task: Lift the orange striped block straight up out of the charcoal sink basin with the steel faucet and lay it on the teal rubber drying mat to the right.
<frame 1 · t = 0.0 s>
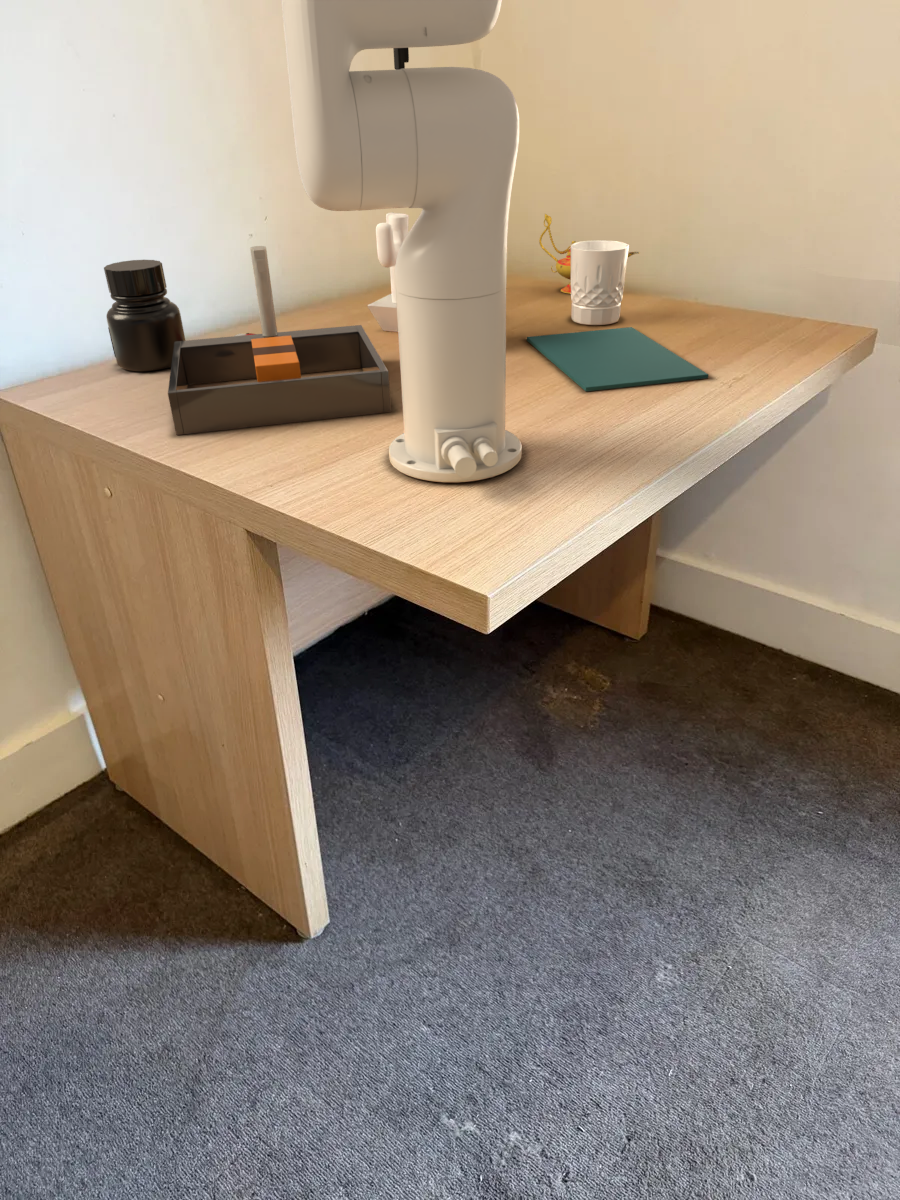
hand: (360, 71, 103), 31 cm above the table, tool pointing down, fingers open, 9 cm apart
sink basin: (280, 397, 99), on the table
white cup: (595, 321, 124), on the table
lighter: (262, 347, 117), on the table
drying mat: (610, 358, 108), on the table
ink bottle: (154, 364, 112), on the table
orange striped block: (277, 373, 97), in the sink basin
figurine: (403, 329, 123), on the table
magic lamp: (585, 292, 139), on the table
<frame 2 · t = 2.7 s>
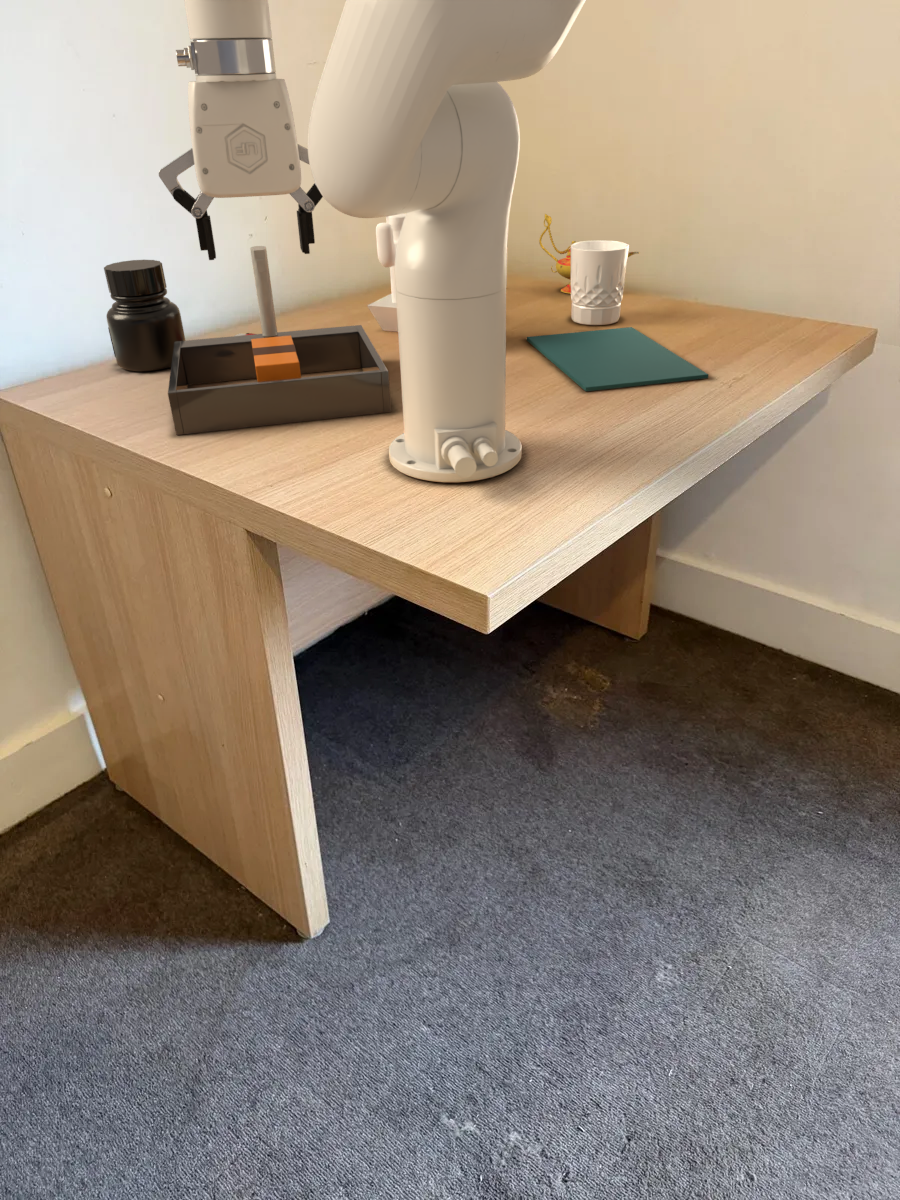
hand: (259, 254, 91), 15 cm above the table, tool pointing down, fingers open, 9 cm apart
nothing on the table moved.
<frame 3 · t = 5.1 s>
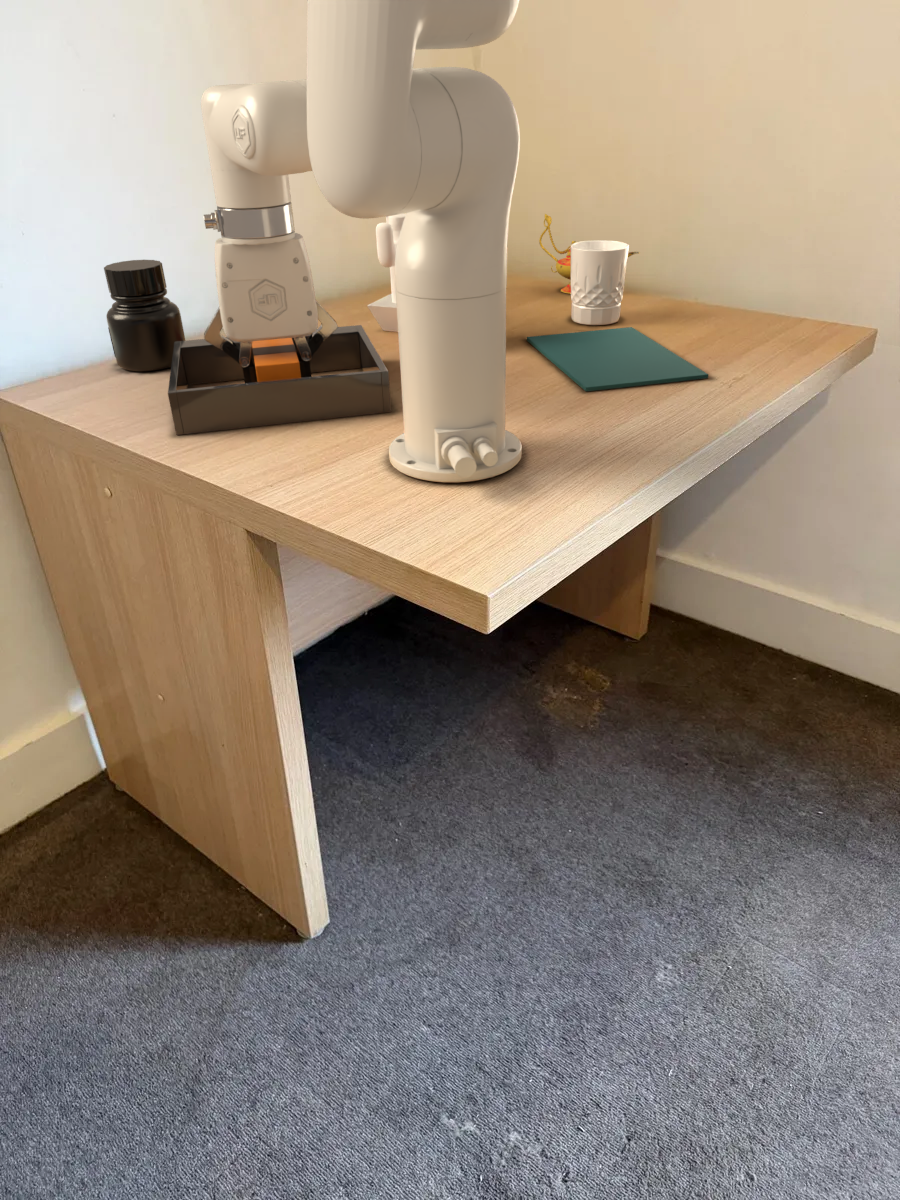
hand: (280, 394, 99), 0 cm above the table, tool pointing down, fingers closed on orange striped block, 4 cm apart
orange striped block: (277, 373, 97), in the sink basin, touching gripper
everything else where it was.
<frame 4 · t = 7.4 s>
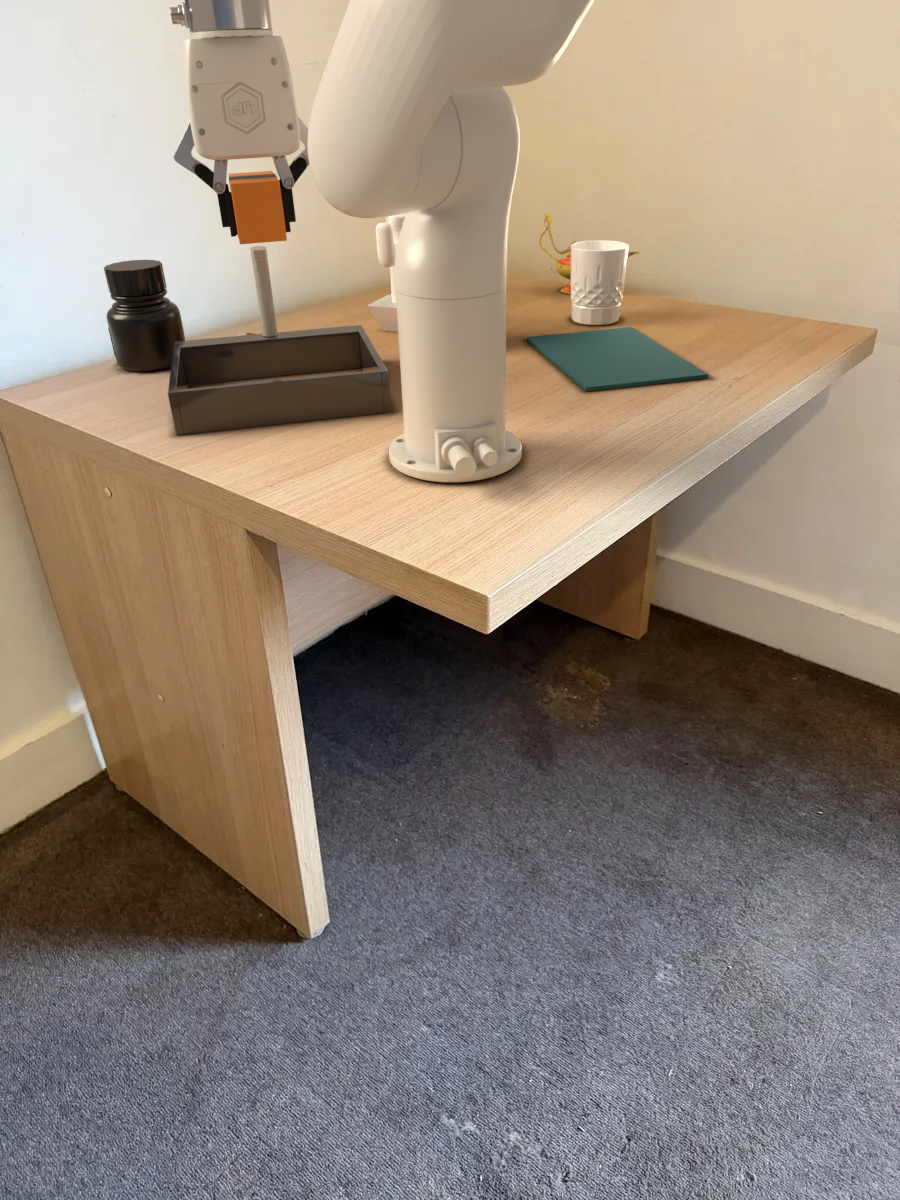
hand: (260, 230, 89), 18 cm above the table, tool pointing down, fingers closed on orange striped block, 4 cm apart
orange striped block: (256, 206, 88), point 20 cm above the table, touching gripper
everything else where it was.
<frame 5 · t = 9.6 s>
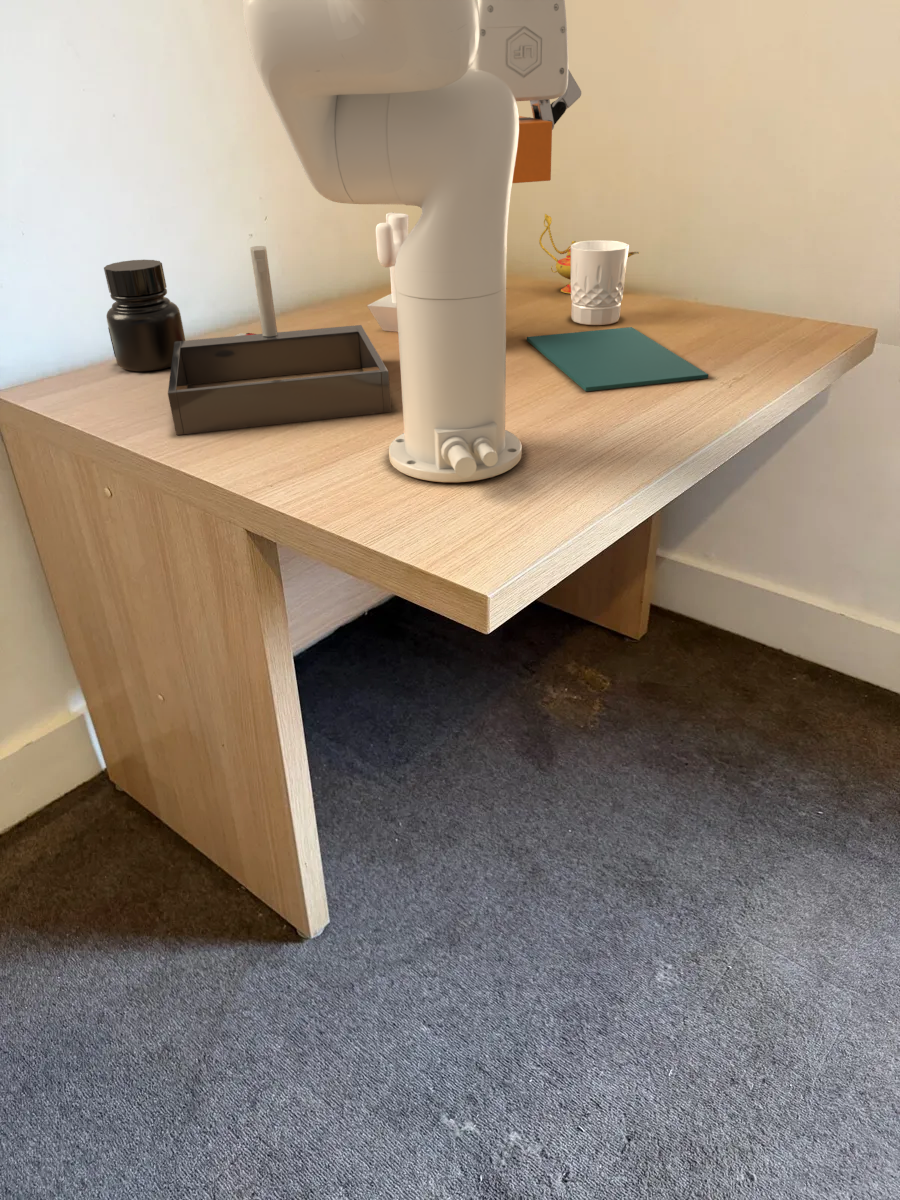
hand: (513, 172, 94), 22 cm above the table, tool pointing down, fingers closed on orange striped block, 4 cm apart
orange striped block: (513, 148, 93), point 24 cm above the table, touching gripper
everything else where it was.
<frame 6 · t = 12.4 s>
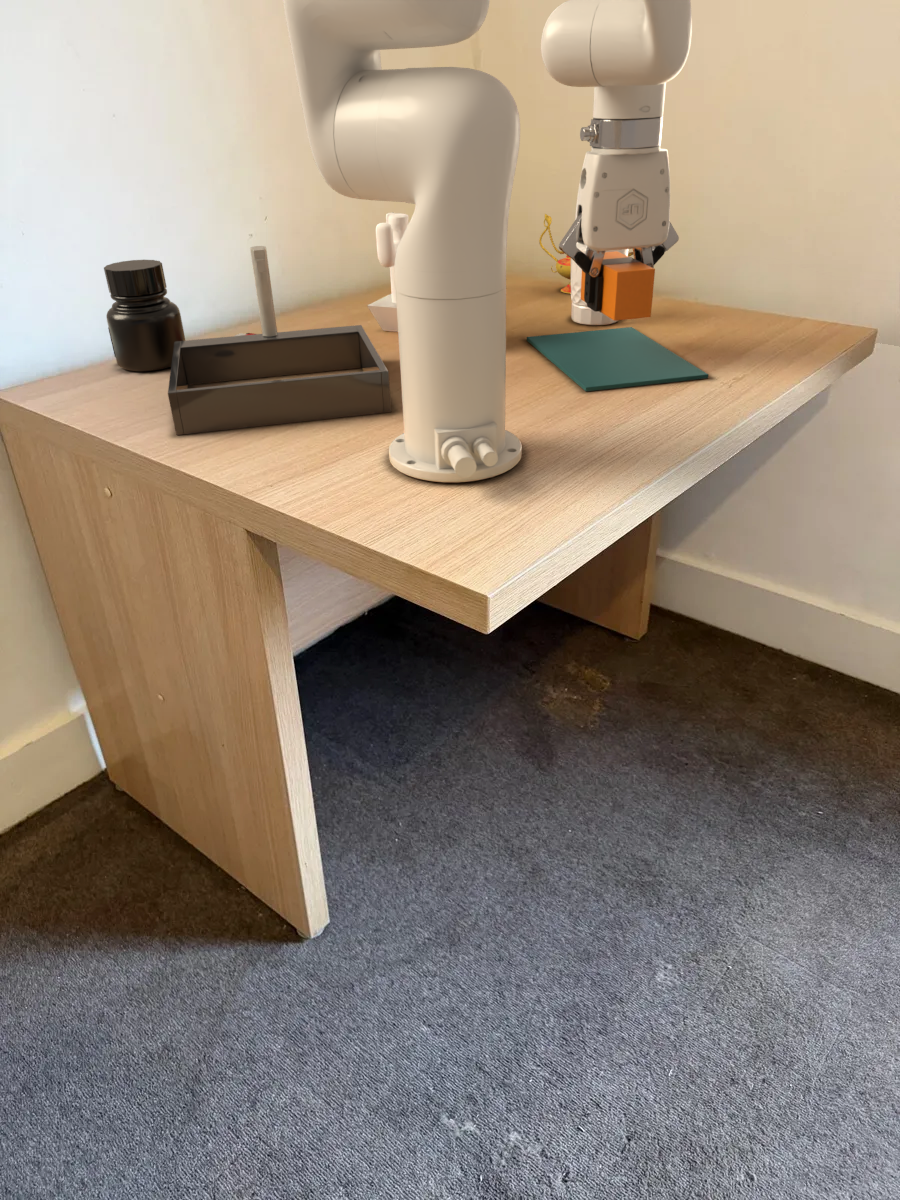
hand: (614, 305, 105), 6 cm above the table, tool pointing down, fingers closed on orange striped block, 4 cm apart
orange striped block: (615, 284, 103), point 9 cm above the table, touching gripper
everything else where it was.
when the fingers open (1 cm above the table, at t = 14.3 s): orange striped block stays where it is, resting on drying mat.
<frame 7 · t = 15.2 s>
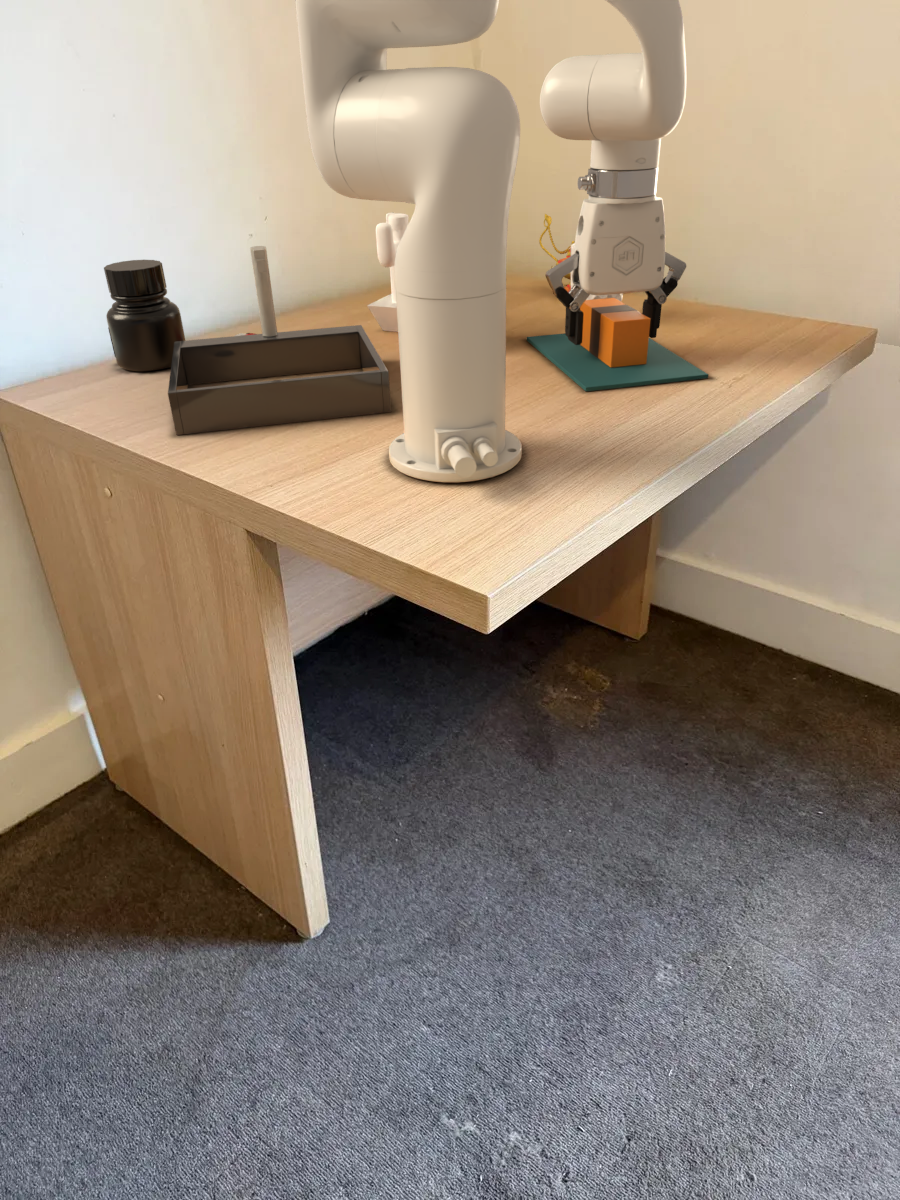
hand: (611, 338, 106), 2 cm above the table, tool pointing down, fingers open, 9 cm apart
orange striped block: (612, 331, 106), on the drying mat
everything else where it was.
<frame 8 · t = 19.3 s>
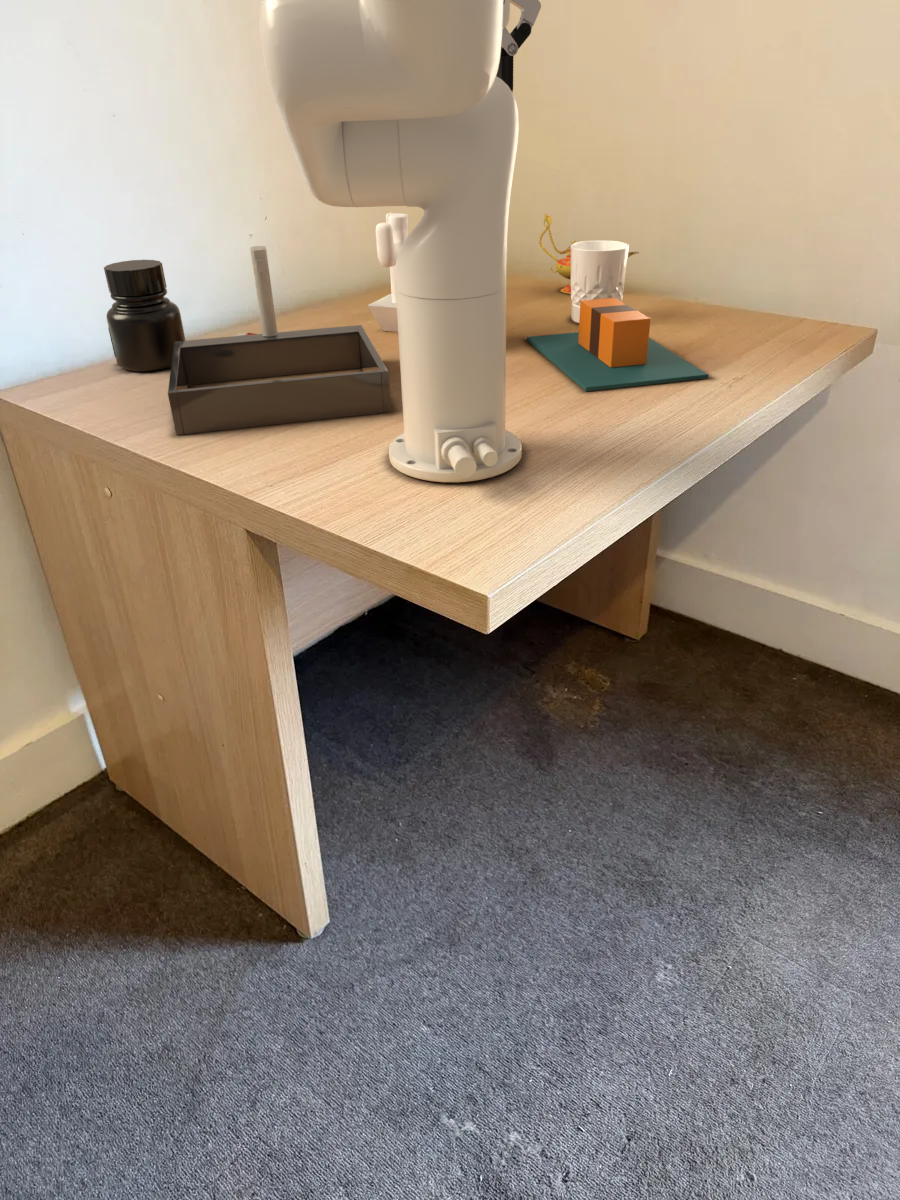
hand: (454, 104, 87), 28 cm above the table, tool pointing down, fingers open, 9 cm apart
nothing on the table moved.
at the end: orange striped block inside the target area on the drying mat (0.2 cm from its centre), point 3.2 cm above the drying mat's base; orange striped block tilted 0°; the gripper is holding nothing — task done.
